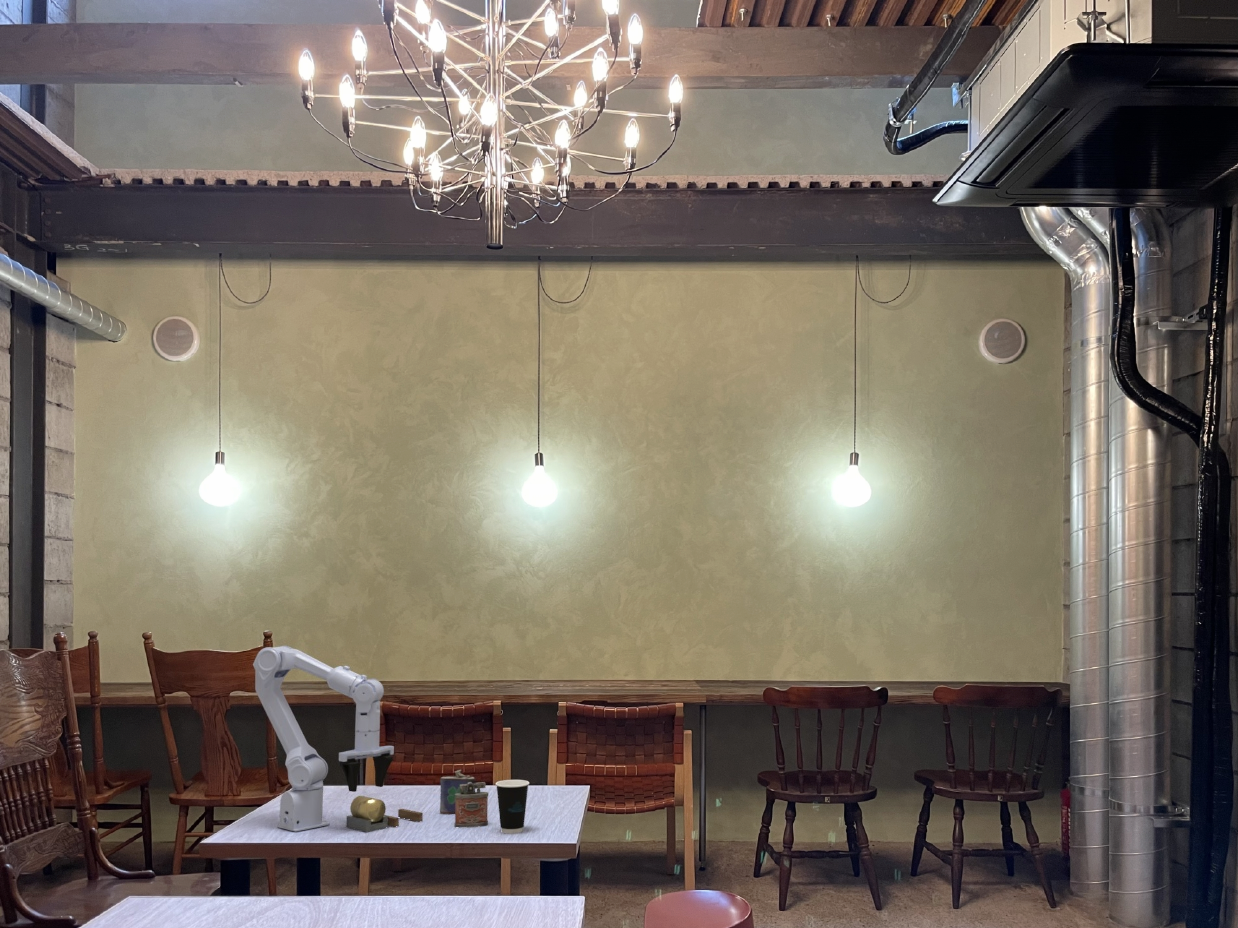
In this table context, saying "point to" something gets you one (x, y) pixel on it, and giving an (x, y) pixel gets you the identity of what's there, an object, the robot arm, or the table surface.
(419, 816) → the brown u-shaped block
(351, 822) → the v block
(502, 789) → the dixie cup
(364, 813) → the gold capsule
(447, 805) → the flask
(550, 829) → the table surface
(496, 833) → the table surface
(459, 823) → the lighter
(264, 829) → the table surface
